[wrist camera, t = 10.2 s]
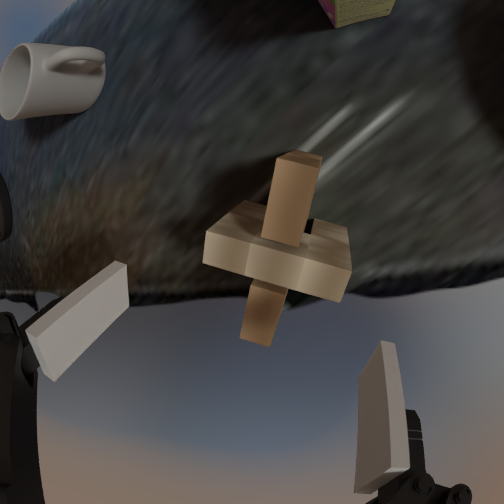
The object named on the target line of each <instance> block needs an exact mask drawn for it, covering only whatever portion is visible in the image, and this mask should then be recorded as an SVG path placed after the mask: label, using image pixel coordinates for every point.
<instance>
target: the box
mask: <svg viewBox="0 0 504 504" xmlns="http://www.w3.org/2000/svg"><path fill="white" fill-rule="evenodd" d="M318 1H319V3H320V4H321V6H322V7H323V9H324V11H325V12H326V14H327V15H328V17H329V19H330V20H331V22H332V24H333V25H334V27H335V28H339V27H342V26H345V25H349V24H353V23H357V22H361V21H365V20H369V19H373V18H377V17H382V16H387V15H389V14H390V11H391V9H392V7H393V5H394V2H395V0H318Z"/></svg>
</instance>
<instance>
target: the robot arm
mask: <svg viewBox="0 0 504 504" xmlns="http://www.w3.org/2000/svg"><path fill="white" fill-rule="evenodd" d="M11 229H12V212H11V205H10V199H9V195H8V191H7V188H6V185H5V182H4V180H3V178H2V176H1V174H0V242H1V241H3V240H5V239H7V238H8V237H9V236H10V233H11ZM128 307H129V298H128V284H127V265H126V264H123V263H121V262H118V261H114V262H113V263H111V264H110V265H109V266H107V267H106V268H104V269H103V270H102V271H100V272H99V273H97V274H96V275H95V276H93V277H92V278H91V279H89V280H88V281H87V282H85V283H84V284H83V285H81V286H80V287H79V288H77V289H76V290H75V291H73V292H72V293H71V294H69V295H68V296H67V297H66V298H63V297H60V298H57V299H55V300H53V301H51V302H50V303H49V304H47V305H46V306H45V308H44V307H43V308H42V309H41V310H40V312H37V313H36V314H35V315H34V316H32V317H31V318H30V319H28V320H27V321H26V322H25V323H23V324H22V325H21V326H20V327H18V325H17V322H16V320H15V317H14V315H13V314H12V313H10V312H1V313H0V504H45V501H44V496H43V489H42V482H41V475H40V467H39V456H38V443H37V410H36V409H37V380H38V372H37V368H38V367H39V366H41V368H42V371H43V373H44V374H45V375H46V376H47V377H49V378H50V379H51V380H53V381H56V380H57V379H58V378H59V376H61V375H62V374H63V372H64V371H65V370H66V369H67V368H68V367H69V366H70V365H71V364H72V363H73V362H74V361H75V360H76V359H77V358H78V357H79V356H80V355H81V354H82V353H83V352H84V351H85V350H86V349H87V348H88V347H89V345H91V344H92V342H93V341H94V340H95V339H96V338H97V337H98V336H99V335H100V334H101V333H102V332H103V331H104V330H105V329H106V328H107V327H108V326H109V325H110V324H111V323H112V322H113V321H115V320H116V318H117V317H119V316H120V314H121V313H123V312H124V311H125V310H126V309H127V308H128ZM376 490H378V496H377V497H376V498H374V499H372V500H371V501H369V502H367V503H366V504H471V500H472V493H471V490H470V489H469V487H468V486H467V485H465V484H457V485H455V486H453V487H452V488H448V487H444V486H441V485H437V484H435V483H434V480H433V478H432V477H431V476H430V475H429V474H427V473H426V470H425V459H424V448H423V441H422V432H421V423H420V419H419V417H418V415H417V413H416V412H415V410H407V409H405V404H404V397H403V390H402V383H401V377H400V371H399V365H398V360H397V354H396V349H395V344H394V343H389V342H386V341H380V343H379V344H378V346H377V348H376V350H375V351H374V353H373V355H372V356H371V358H370V360H369V361H368V363H367V365H366V366H365V368H364V370H363V371H362V373H361V374H360V376H359V377H358V438H357V458H356V472H355V484H354V493H362V494H371V493H373V492H374V491H376Z"/></svg>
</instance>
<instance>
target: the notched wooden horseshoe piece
mask: <svg viewBox="0 0 504 504" xmlns="http://www.w3.org/2000/svg"><path fill="white" fill-rule="evenodd" d="M266 209H267V206H266V205H262V204H258V203H254V202H250V201H246V200H244V201H242V202H241V203H240V204H239V205H237V206H236V207H235V208H234V209H232V210H231V211H230V212H229V213H227V214H226V215H225V216H224V217H222V218H221V219H220V220H219V221H218V222H216V223H215V224H214V225H213V226H212V227H210V228H209V229H208V230H207V231H206V237H205V246H204V255H203V263H205V264H208V265H211V266H214V267H218V268H221V269H224V270H228V271H231V272H234V273H238V274H241V275H244V276H248V277H251V278H255V279H258V280H261V281H265V282H268V283H272V284H275V285H279V286H282V287H286V288H289V289H293V290H296V291H300V292H303V293H307V294H310V295H314V296H318V297H321V298H325V299H328V300H332V301H336V302H340V301H341V298H342V296H343V293H344V291H345V288H346V286H347V283H348V280H349V278H350V275H351V272H352V267H351V258H350V249H349V240H348V232H347V227H343V226H340V225H336V224H333V223H329V222H326V221H322V220H319V219H315V218H314V222H313V226H312V230H311V233H310V234H307V233H303V234H302V238H301V241H300V244H299V247H295V246H292V245H288V244H285V243H281V242H277V241H274V240H270V239H266V238H263V237H261V233H262V228H263V223H264V219H265V214H266Z"/></svg>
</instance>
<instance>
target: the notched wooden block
mask: <svg viewBox="0 0 504 504" xmlns="http://www.w3.org/2000/svg"><path fill="white" fill-rule="evenodd" d="M322 157H323V156H319V155H315V154H311V153H307V152H303V151H299V150H293V151H291V152H289V153H287V154H284V155H282V156H280V157H278V158H277V160H276V165H275V170H274V174H273V179H272V184H271V189H270V194H269V199H268V204H267V209H266V214H265V219H264V223H263V228H262V233H261V237H263V238H266V239H270V240H274V241H277V242H281V243H285V244H288V245H292V246H295V247H299V244H300V241H301V238H302V234H303V233H304V230H305V226H306V222H307V219H308V215H309V211H310V207H311V203H312V199H313V195H314V191H315V187H316V183H317V178H318V174H319V170H320V166H321V161H322ZM287 292H288V288H286V287H282V286H279V285H275V284H272V283H268V282H265V281H261V280H258V279H255V278H254V280H253V282H252V284H251V286H250V291H249V296H248V301H247V306H246V310H245V315H244V320H243V324H242V329H241V334H240V338H242V339H245V340H248V341H251V342H254V343H258V344H261V345H264V346H268V347H270V344H271V342H272V338H273V335H274V332H275V329H276V326H277V323H278V320H279V317H280V314H281V311H282V308H283V304H284V301H285V298H286V295H287Z"/></svg>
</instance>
